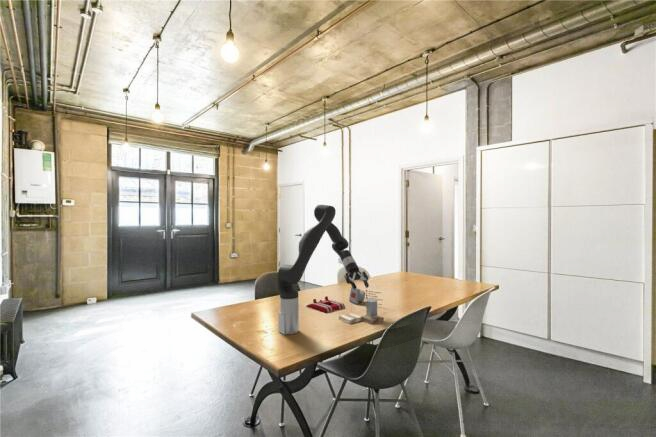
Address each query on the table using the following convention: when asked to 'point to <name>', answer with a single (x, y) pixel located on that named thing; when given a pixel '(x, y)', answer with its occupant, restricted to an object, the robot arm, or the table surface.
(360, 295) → the voltmeter
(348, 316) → the stand
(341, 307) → the fire alarm
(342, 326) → the table surface
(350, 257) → the robot arm
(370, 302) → the block
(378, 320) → the stand
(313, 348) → the table surface
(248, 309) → the table surface
